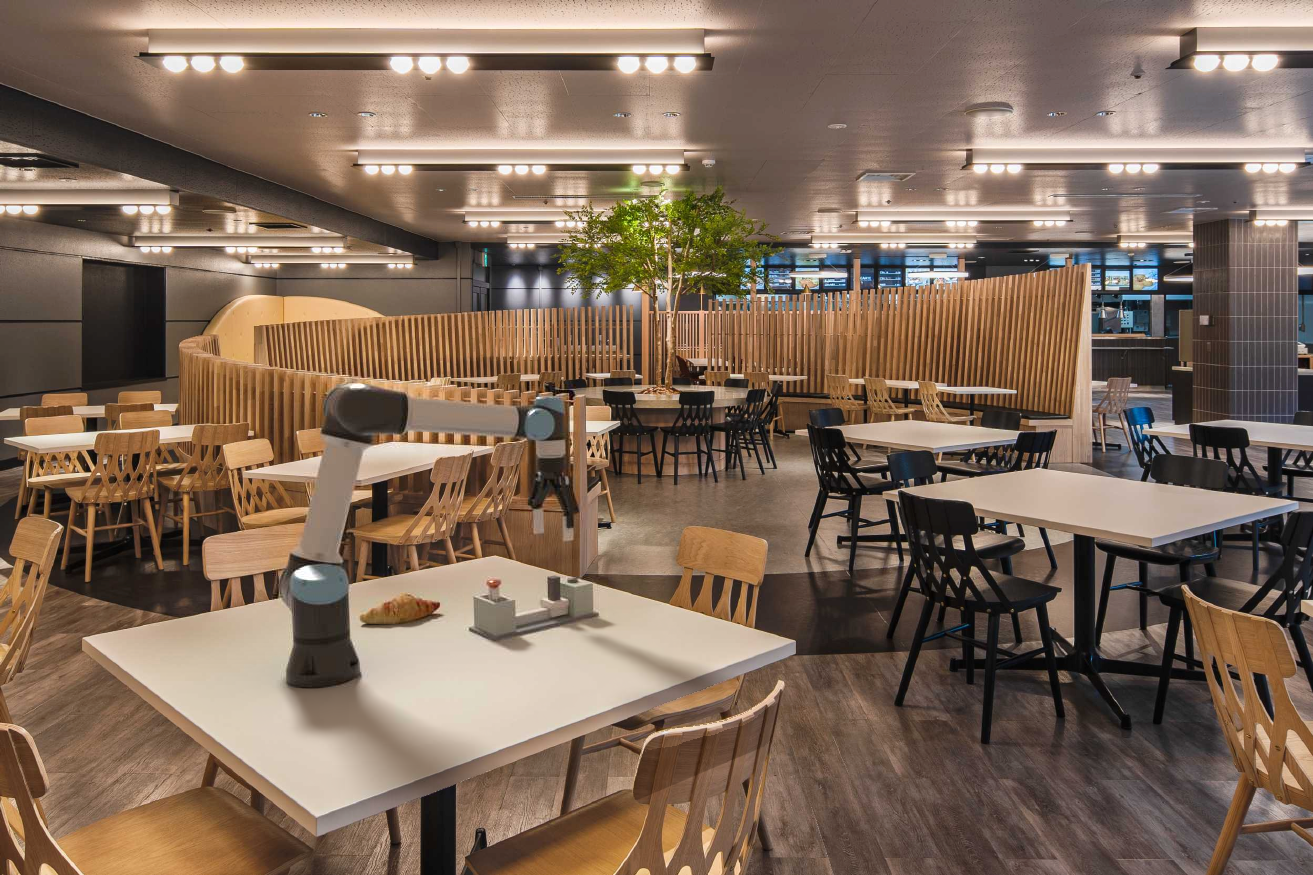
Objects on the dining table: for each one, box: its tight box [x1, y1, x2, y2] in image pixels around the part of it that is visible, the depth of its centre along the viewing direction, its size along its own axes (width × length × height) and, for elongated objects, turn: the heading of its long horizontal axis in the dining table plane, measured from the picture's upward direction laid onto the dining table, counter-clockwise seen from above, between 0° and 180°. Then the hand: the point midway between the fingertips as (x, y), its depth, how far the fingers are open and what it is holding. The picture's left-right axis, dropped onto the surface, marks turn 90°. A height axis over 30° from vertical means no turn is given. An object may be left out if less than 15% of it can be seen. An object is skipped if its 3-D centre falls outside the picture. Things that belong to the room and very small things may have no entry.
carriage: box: [539, 575, 569, 617], centre depth 240 cm, size 5×6×10 cm
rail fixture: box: [468, 576, 600, 642], centre depth 236 cm, size 32×12×10 cm, turn 131°
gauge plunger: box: [486, 578, 502, 603], centre depth 228 cm, size 4×4×9 cm
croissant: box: [358, 593, 441, 625], centre depth 241 cm, size 21×10×8 cm, turn 122°
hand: (553, 536), depth 238 cm, fingers open, 13 cm apart
